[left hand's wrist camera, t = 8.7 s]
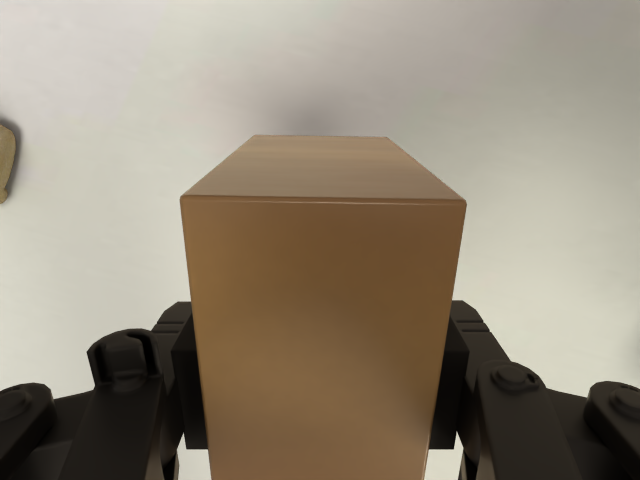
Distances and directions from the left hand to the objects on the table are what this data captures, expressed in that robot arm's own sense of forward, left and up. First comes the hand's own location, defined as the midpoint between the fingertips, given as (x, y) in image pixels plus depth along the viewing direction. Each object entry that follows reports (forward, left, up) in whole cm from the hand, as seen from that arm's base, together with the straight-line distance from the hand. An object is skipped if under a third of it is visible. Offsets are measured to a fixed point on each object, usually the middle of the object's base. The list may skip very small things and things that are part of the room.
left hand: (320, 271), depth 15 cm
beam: (+8, +26, -1) cm, 27 cm away
